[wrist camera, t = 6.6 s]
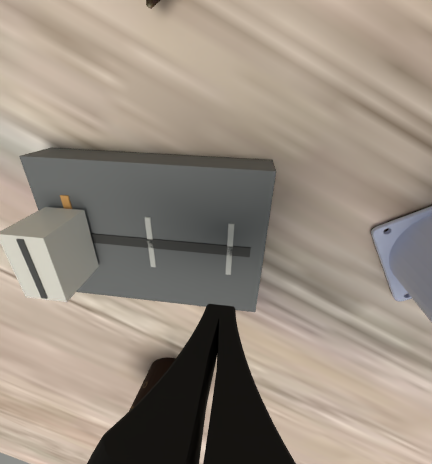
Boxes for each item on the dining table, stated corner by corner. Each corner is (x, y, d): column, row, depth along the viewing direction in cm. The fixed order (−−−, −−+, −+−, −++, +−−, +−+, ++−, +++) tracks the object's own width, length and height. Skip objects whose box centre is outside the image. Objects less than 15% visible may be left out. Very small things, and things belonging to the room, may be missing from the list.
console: (272, 160, 17) (276, 171, 15) (254, 288, 23) (255, 313, 21) (50, 147, 19) (17, 156, 16) (86, 270, 25) (66, 291, 22)
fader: (84, 210, 18) (41, 239, 14) (98, 266, 20) (65, 303, 16) (45, 206, 18) (-6, 234, 14) (64, 262, 20) (24, 298, 17)
